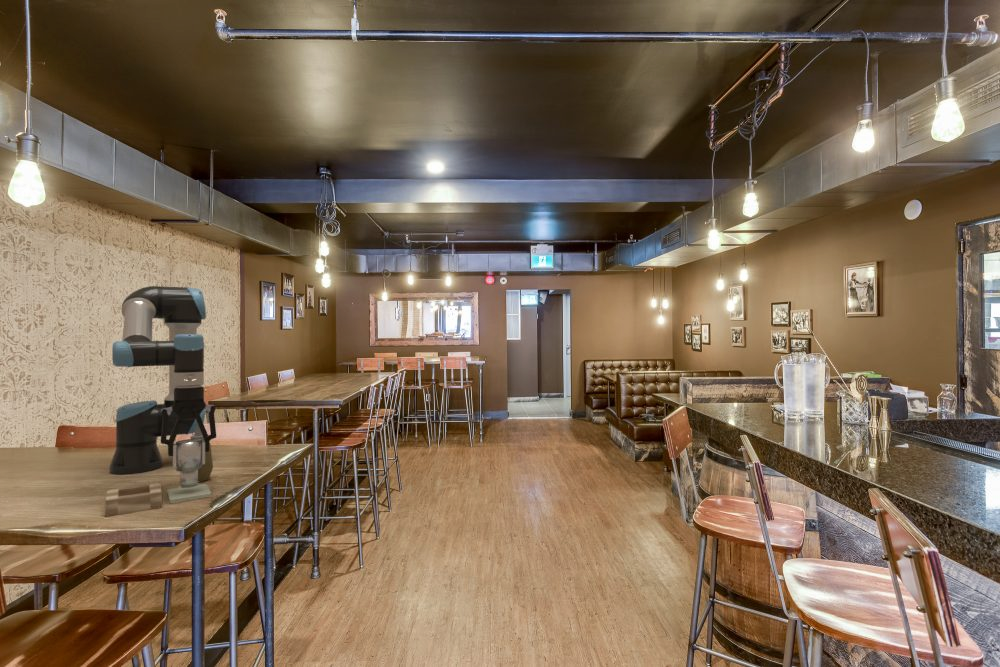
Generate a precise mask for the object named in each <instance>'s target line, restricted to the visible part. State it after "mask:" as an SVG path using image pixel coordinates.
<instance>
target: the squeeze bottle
mask: <svg viewBox="0 0 1000 667" xmlns="http://www.w3.org/2000/svg"><path fill="white" fill-rule="evenodd" d="M193 434H194V435H191V436H190V439H202V441H204V438H203V435H202V433H201V430H200V428H199V426H198V425H197V426H196V430H195V433H193ZM211 447H212V446H211V441H209V452H205V464H202V468H200V469H198V481H201V482H205V481H208V480H210V477H211V474H212V471H213V469H214V464H213V456H212V448H211ZM207 479H208V480H207ZM204 480H205V481H204Z"/></svg>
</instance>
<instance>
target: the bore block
mask: <svg viewBox="0 0 1000 667" xmlns="http://www.w3.org/2000/svg"><path fill="white" fill-rule="evenodd" d="M160 483H161V482H160V481H159V482H158V481H157V482H151V483H145V484H138V485H133V486H131V485H130V486H125V487H118V488H110V489H107V490H106V497H105V517H111V516H118V515H122V514H129V513H137V512H141V510H142V511H147V510H153V508H154V509H159V507H160V508H162V504H163V503H162V501H163V499H162V496H163V495H162V494H163V493H162V488H161V484H160Z"/></svg>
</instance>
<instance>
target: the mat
mask: <svg viewBox="0 0 1000 667" xmlns="http://www.w3.org/2000/svg"><path fill="white" fill-rule="evenodd" d="M166 493H167V496H168V502H169V504H170V503H171V504H177V503H181V501H183V502H188V500H189V501H194V500H193V499H195V500H199V499H198V498H201V499H205V498H204V497H207V498H210V497H209V496H211V497H212V492H211V490H210V489H209V487H208V485H207V483H203V484H198V485H197V486H194V487H188V488H181V487H176V488H170V489H167V492H166ZM176 502H177V503H176Z"/></svg>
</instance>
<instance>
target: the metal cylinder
mask: <svg viewBox="0 0 1000 667" xmlns="http://www.w3.org/2000/svg"><path fill="white" fill-rule="evenodd" d="M175 444H176V468H175V471H176V472H179V478H180V479H179V480H180V482H179V483H180V486H179V488H188V487H194V486H197V485H199V482H198V469H200V468H202V439H191V438H188V439H182V440H178V441H176V442H175Z"/></svg>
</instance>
